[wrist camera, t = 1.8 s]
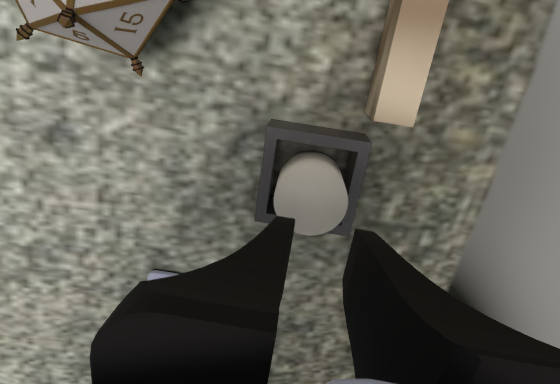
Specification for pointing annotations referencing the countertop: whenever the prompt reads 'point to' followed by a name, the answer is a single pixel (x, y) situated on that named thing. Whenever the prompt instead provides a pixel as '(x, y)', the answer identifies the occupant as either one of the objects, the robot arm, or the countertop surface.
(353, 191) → the button box
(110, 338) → the robot arm
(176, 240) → the countertop surface
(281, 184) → the button
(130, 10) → the game die
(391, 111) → the rail
